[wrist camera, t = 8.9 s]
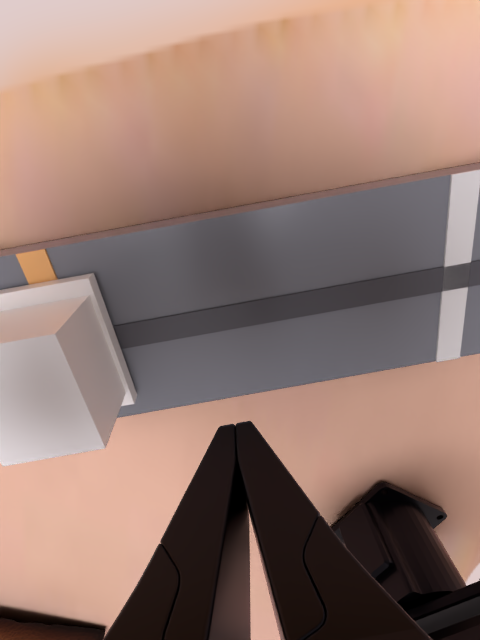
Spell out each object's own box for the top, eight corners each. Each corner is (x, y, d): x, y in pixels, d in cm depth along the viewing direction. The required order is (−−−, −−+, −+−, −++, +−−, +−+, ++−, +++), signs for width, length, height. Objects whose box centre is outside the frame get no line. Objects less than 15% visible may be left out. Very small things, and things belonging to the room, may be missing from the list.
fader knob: (93, 272, 15) (52, 313, 11) (137, 394, 18) (116, 460, 14) (-9, 291, 15) (-85, 337, 11) (50, 410, 18) (5, 480, 14)
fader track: (546, 150, 16) (590, 149, 14) (513, 325, 20) (545, 342, 18) (-55, 260, 16) (-90, 273, 15) (26, 411, 20) (7, 438, 18)
